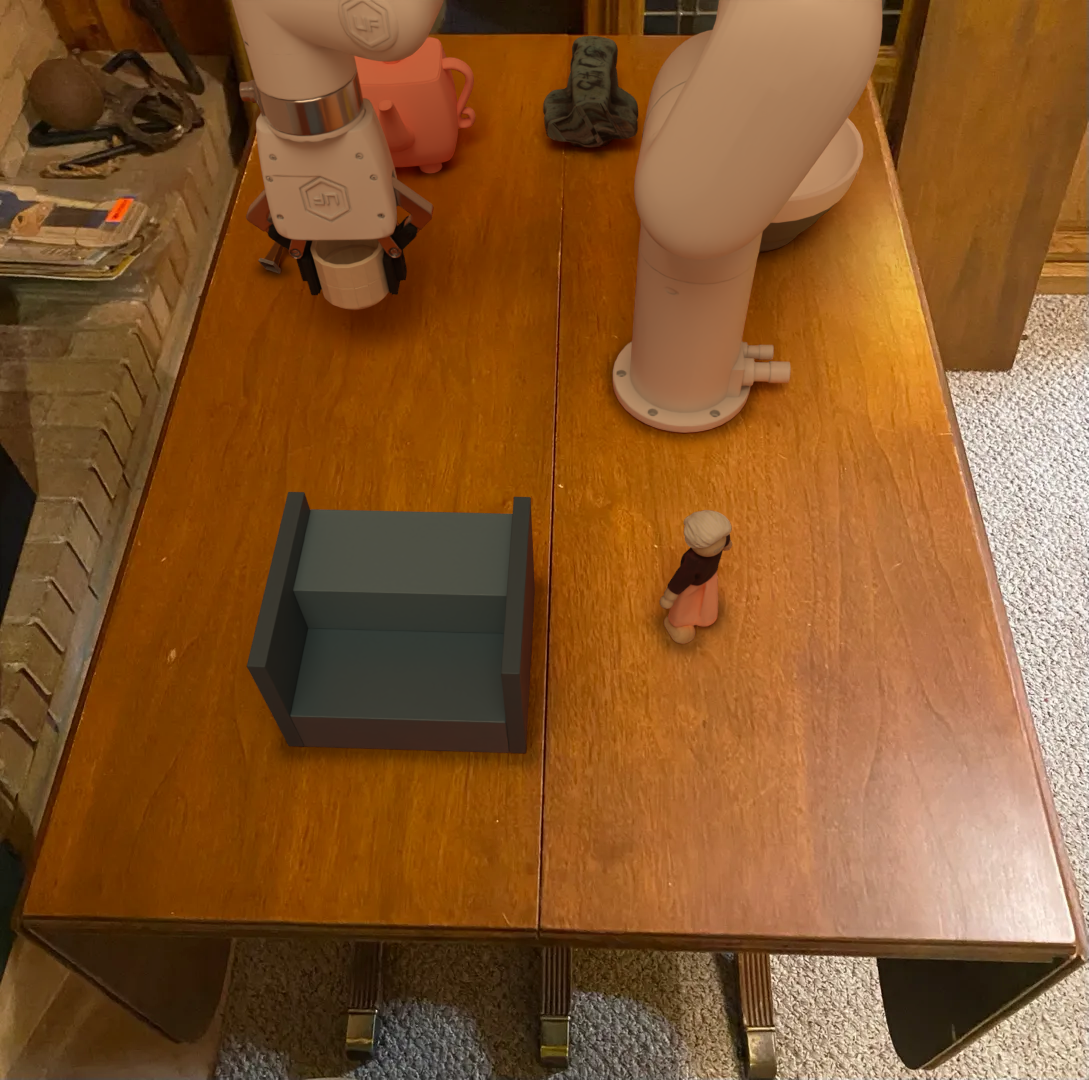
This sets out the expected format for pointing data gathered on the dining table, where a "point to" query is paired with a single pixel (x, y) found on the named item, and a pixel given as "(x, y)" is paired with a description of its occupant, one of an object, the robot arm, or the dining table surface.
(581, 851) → the dining table surface
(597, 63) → the sculpture
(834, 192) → the bowl
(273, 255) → the wooden post with brackets
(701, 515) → the grandmother figurine
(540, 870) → the dining table surface
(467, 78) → the teapot
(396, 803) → the dining table surface
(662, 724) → the dining table surface
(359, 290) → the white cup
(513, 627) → the step shelf
